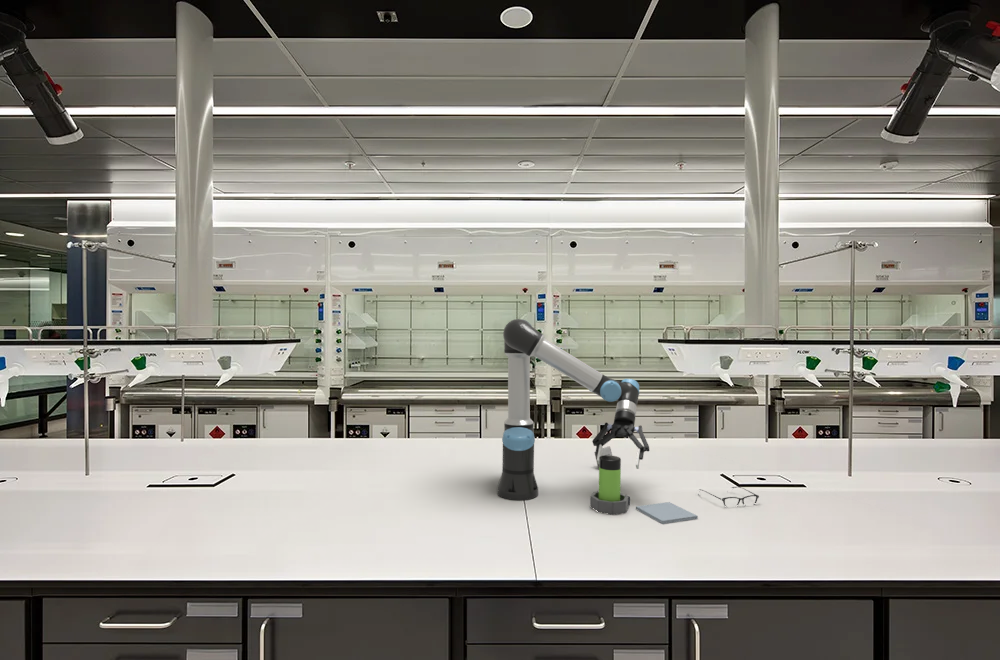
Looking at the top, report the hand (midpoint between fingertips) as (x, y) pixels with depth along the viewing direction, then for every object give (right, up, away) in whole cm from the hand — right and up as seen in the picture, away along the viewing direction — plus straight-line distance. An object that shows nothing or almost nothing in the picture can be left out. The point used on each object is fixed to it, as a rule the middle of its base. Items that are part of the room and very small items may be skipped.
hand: (617, 464), depth 184 cm
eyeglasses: (+41, -15, +6) cm, 44 cm away
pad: (+14, -14, -10) cm, 22 cm away
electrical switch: (+5, -14, +46) cm, 48 cm away
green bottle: (-4, -14, -5) cm, 15 cm away
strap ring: (-4, -14, -5) cm, 15 cm away
